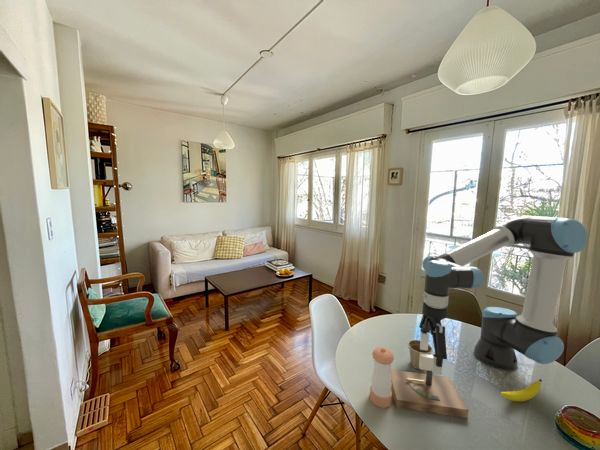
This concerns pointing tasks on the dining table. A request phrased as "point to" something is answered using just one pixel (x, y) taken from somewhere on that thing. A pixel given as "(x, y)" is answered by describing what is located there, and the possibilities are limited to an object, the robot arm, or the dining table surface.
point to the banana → (523, 392)
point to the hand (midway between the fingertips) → (429, 360)
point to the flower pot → (417, 352)
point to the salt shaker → (381, 377)
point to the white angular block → (425, 368)
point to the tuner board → (427, 394)
